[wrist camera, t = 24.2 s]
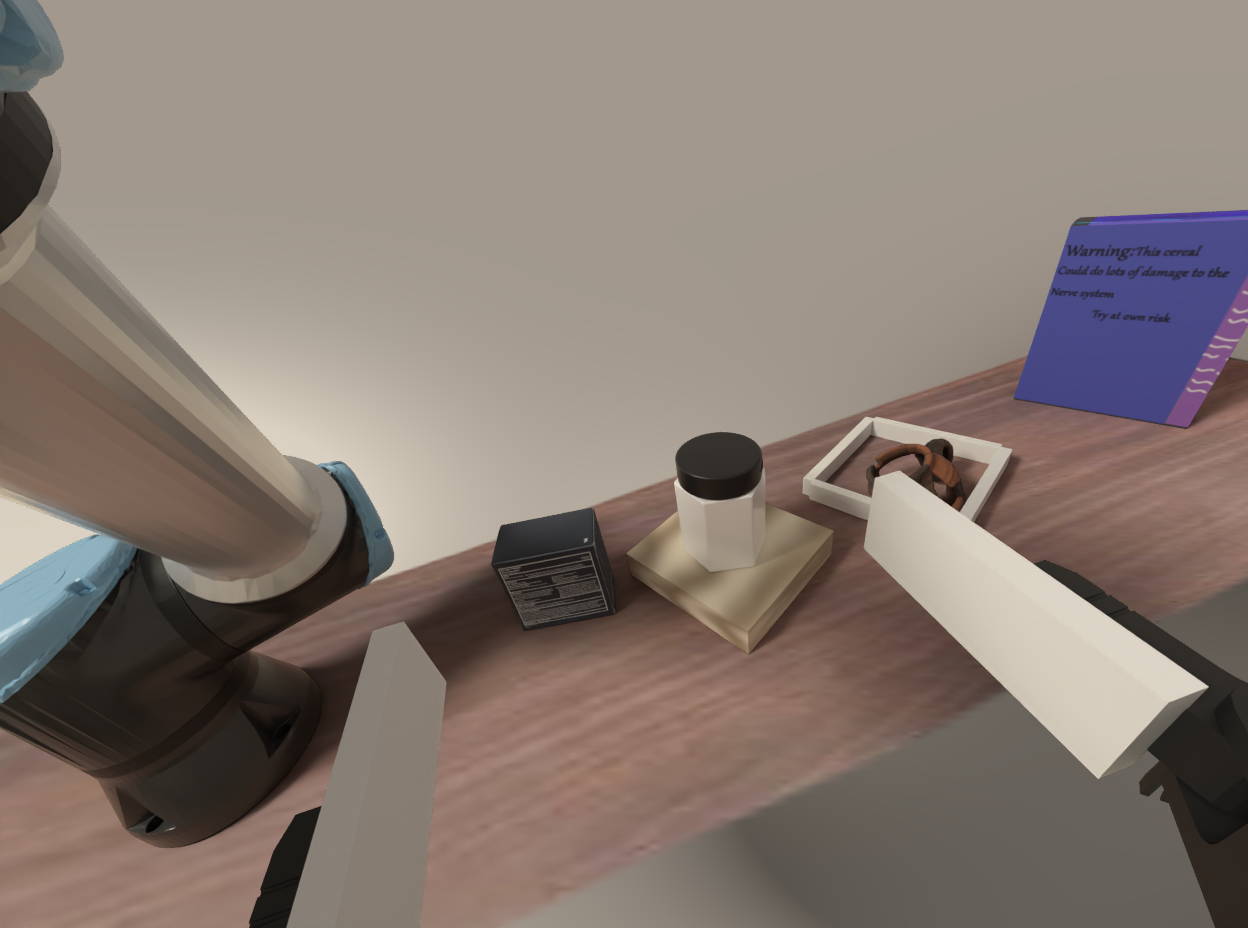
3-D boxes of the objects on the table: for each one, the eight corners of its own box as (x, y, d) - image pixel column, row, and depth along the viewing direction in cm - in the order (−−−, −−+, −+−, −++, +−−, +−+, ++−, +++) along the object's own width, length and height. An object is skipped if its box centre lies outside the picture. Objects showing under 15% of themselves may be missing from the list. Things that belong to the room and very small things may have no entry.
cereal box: (1191, 412, 59) (1312, 205, 46) (1186, 428, 56) (1313, 214, 43) (1023, 386, 71) (1080, 215, 58) (1013, 399, 68) (1071, 224, 55)
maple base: (631, 574, 53) (626, 553, 51) (714, 502, 61) (712, 481, 59) (748, 654, 42) (747, 631, 40) (831, 554, 50) (833, 530, 48)
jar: (782, 548, 47) (785, 453, 41) (723, 587, 45) (716, 492, 38) (724, 508, 54) (718, 421, 48) (670, 539, 51) (656, 452, 45)
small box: (613, 570, 54) (595, 503, 48) (617, 615, 48) (596, 545, 43) (527, 586, 54) (499, 521, 48) (521, 633, 49) (488, 565, 43)
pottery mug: (958, 544, 49) (925, 490, 46) (874, 535, 57) (843, 490, 55) (993, 467, 53) (965, 415, 51) (911, 470, 62) (884, 425, 59)
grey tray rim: (800, 495, 59) (800, 480, 57) (865, 429, 69) (867, 415, 67) (955, 553, 47) (961, 536, 46) (1008, 463, 57) (1014, 447, 56)
